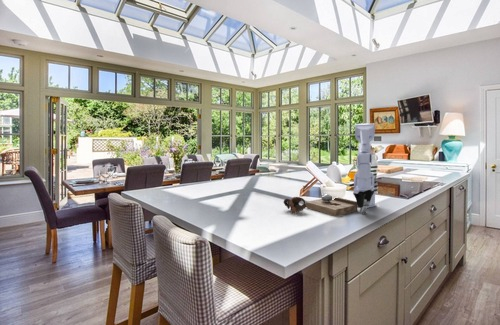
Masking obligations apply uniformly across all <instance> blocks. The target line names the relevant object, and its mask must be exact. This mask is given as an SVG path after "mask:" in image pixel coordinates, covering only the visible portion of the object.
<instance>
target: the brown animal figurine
mask: <svg viewBox="0 0 500 325" xmlns="http://www.w3.org/2000/svg"><path fill="white" fill-rule="evenodd" d="M300 202H303V203H302V204H300ZM283 204H284V206H285V207H287V210H291V213H292V214H295V213H298V212H302V211H304V210H305V209H306V207H307V206H306V200H305V199H304V198H303V197H301V196H300V197H299V196H294V197H292V198H291V199H290V198H284V200H283Z"/></svg>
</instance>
